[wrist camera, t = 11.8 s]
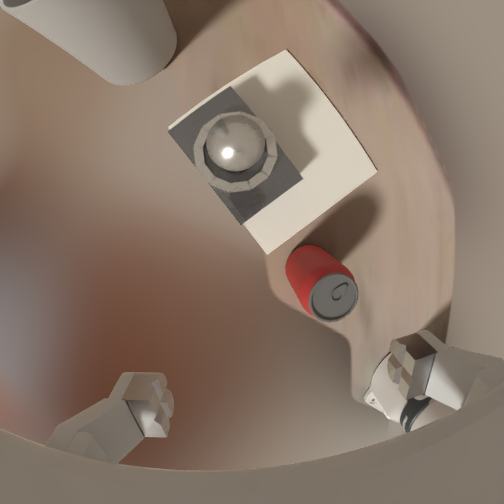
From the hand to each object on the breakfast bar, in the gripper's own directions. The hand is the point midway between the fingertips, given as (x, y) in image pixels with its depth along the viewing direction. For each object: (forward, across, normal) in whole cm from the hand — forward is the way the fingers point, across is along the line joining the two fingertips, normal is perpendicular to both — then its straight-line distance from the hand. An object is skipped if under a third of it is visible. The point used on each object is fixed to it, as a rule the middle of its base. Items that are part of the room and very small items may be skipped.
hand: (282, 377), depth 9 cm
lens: (+24, +1, -10) cm, 27 cm away
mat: (+30, -5, -11) cm, 32 cm away
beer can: (+30, -7, +6) cm, 32 cm away
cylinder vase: (+30, +13, -30) cm, 44 cm away
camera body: (+30, +1, -10) cm, 31 cm away
